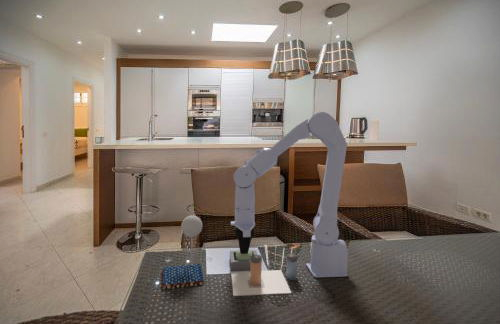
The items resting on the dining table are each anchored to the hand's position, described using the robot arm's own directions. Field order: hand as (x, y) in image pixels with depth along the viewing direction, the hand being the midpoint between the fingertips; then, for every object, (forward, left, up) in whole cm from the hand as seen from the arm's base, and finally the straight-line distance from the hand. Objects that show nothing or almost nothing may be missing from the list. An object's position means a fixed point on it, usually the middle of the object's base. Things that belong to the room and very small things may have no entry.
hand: (244, 252), depth 87 cm
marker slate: (-12, +9, -3) cm, 15 cm away
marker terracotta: (-2, +12, -3) cm, 13 cm away
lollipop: (+15, +1, -4) cm, 15 cm away
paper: (-3, +11, -3) cm, 12 cm away
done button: (0, 0, -3) cm, 3 cm away
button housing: (0, 0, -3) cm, 3 cm away
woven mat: (+17, +7, -4) cm, 19 cm away
